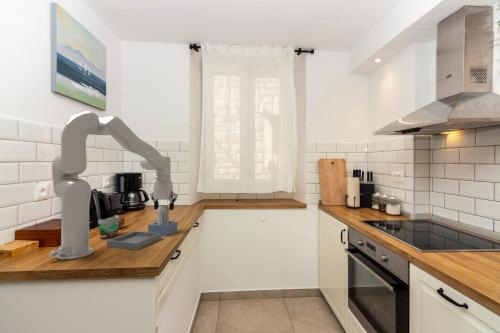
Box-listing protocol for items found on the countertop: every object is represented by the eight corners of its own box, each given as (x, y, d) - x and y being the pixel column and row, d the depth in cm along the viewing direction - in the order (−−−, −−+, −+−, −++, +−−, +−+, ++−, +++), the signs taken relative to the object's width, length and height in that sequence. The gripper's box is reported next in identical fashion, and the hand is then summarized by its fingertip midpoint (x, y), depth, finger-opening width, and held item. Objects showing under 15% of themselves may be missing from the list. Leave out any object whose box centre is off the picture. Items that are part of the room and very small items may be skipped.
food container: (108, 240, 126) (108, 220, 126) (97, 239, 127) (97, 219, 127) (125, 233, 138) (125, 215, 138) (115, 233, 139) (115, 214, 139)
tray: (136, 250, 111) (136, 243, 111) (106, 246, 116) (106, 240, 116) (161, 238, 129) (161, 233, 129) (135, 236, 133) (135, 230, 133)
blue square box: (165, 236, 133) (165, 225, 133) (148, 234, 136) (148, 224, 136) (177, 231, 144) (177, 221, 144) (160, 229, 147) (160, 220, 147)
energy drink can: (161, 235, 136) (161, 207, 136) (155, 233, 140) (155, 205, 140) (170, 232, 140) (171, 205, 140) (165, 231, 144) (165, 204, 144)
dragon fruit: (124, 228, 156) (111, 236, 144) (113, 220, 156) (99, 227, 144) (131, 218, 154) (118, 225, 142) (119, 209, 154) (106, 216, 142)
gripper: (145, 178, 139) (146, 210, 139) (173, 179, 134) (173, 211, 134) (154, 178, 146) (155, 207, 146) (181, 178, 141) (181, 209, 142)
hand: (164, 209), depth 140 cm, fingers open, 9 cm apart
